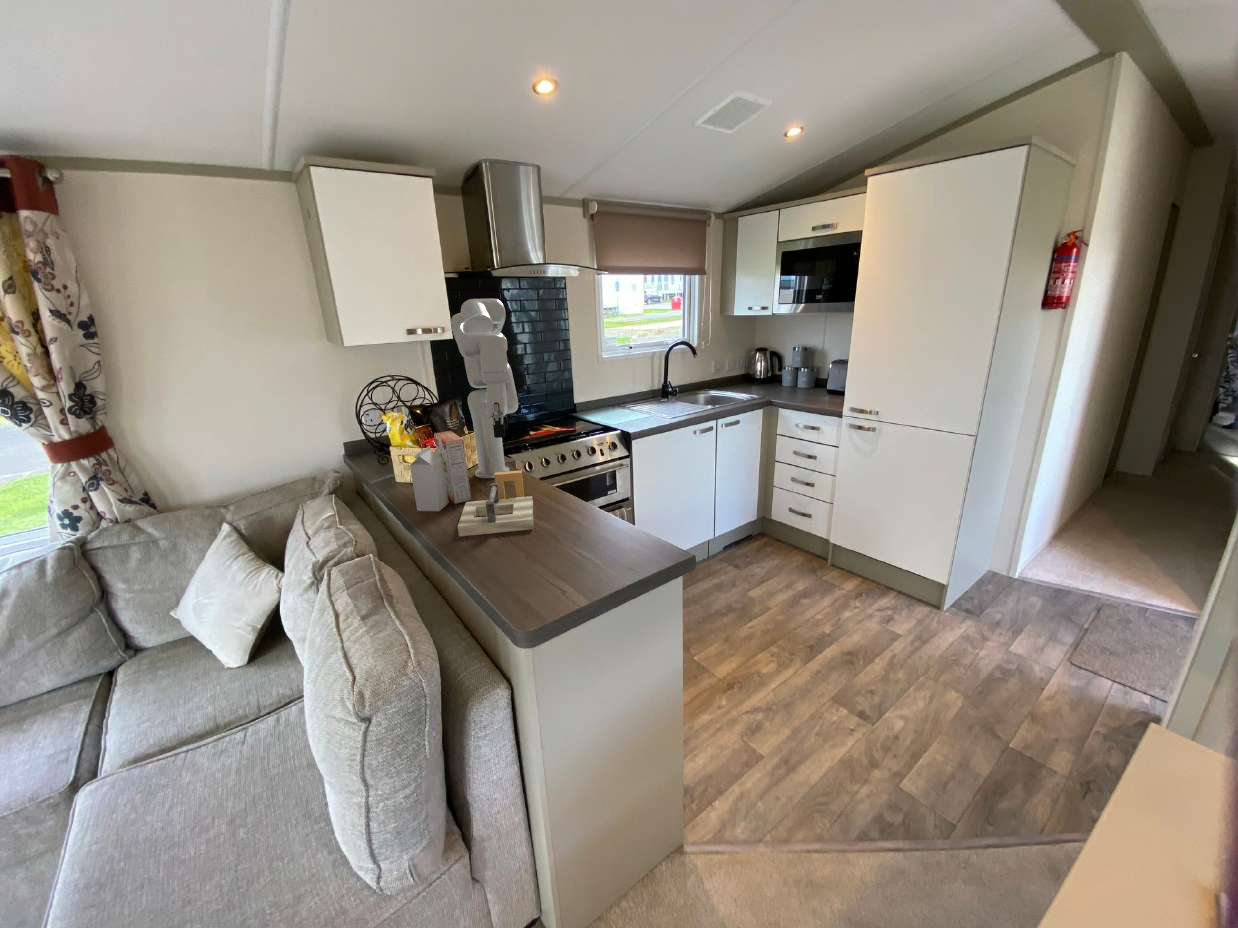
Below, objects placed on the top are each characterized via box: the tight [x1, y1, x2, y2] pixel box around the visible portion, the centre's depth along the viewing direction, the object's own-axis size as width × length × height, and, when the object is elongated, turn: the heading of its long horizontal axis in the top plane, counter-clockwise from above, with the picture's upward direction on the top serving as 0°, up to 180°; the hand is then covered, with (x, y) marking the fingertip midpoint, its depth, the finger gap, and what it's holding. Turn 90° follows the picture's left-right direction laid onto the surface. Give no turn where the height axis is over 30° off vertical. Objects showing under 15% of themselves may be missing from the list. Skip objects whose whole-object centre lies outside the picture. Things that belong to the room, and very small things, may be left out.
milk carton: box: [409, 445, 450, 512], centre depth 152 cm, size 7×7×19 cm
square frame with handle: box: [457, 482, 534, 537], centre depth 143 cm, size 18×20×8 cm
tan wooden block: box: [494, 469, 525, 499], centre depth 158 cm, size 2×8×9 cm, turn 100°
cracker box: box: [433, 430, 473, 505], centre depth 161 cm, size 14×6×21 cm, turn 33°
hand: (501, 433), depth 151 cm, fingers open, 9 cm apart
